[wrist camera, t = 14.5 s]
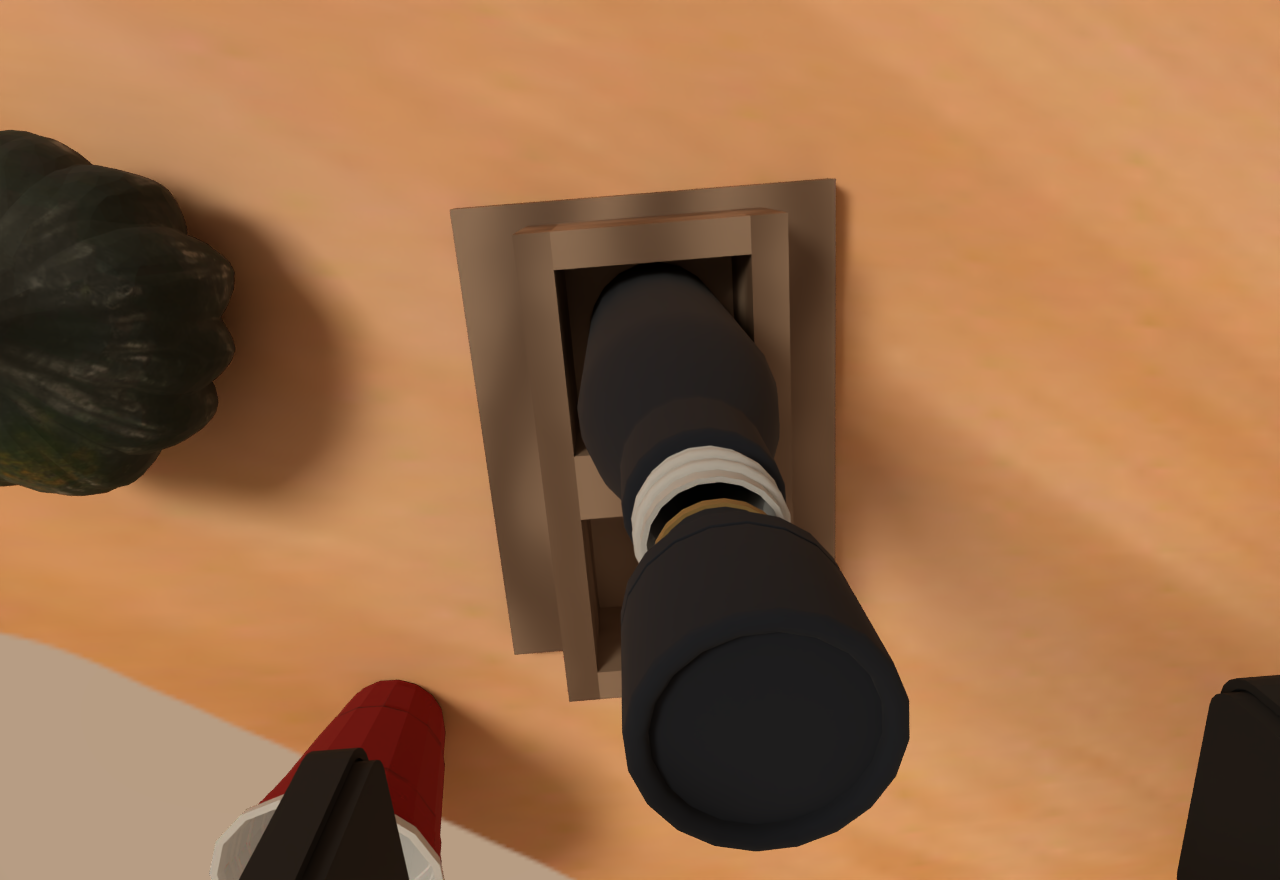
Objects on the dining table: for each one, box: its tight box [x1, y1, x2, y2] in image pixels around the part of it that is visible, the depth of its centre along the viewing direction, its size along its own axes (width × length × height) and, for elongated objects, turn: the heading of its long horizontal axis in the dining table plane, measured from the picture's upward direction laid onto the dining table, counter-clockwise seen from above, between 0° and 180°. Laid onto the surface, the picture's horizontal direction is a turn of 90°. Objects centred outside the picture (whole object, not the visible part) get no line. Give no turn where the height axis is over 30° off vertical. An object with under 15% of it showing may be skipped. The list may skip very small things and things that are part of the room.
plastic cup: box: [209, 680, 445, 880], centre depth 42 cm, size 11×11×12 cm
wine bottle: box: [577, 262, 909, 851], centre depth 25 cm, size 6×6×30 cm
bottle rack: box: [450, 179, 836, 702], centre depth 39 cm, size 18×24×8 cm
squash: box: [0, 130, 235, 496], centre depth 34 cm, size 14×15×15 cm
